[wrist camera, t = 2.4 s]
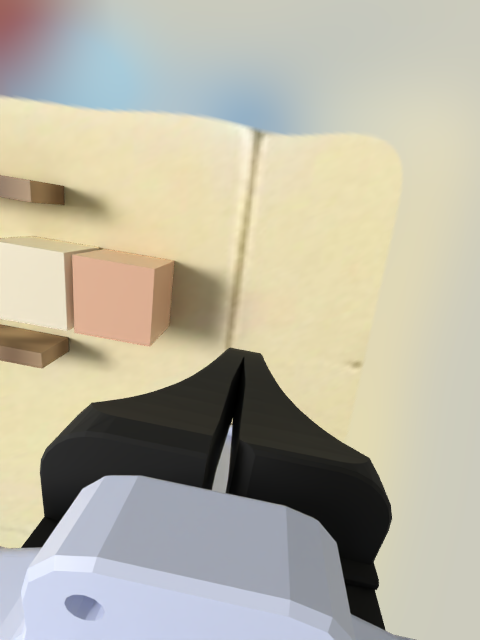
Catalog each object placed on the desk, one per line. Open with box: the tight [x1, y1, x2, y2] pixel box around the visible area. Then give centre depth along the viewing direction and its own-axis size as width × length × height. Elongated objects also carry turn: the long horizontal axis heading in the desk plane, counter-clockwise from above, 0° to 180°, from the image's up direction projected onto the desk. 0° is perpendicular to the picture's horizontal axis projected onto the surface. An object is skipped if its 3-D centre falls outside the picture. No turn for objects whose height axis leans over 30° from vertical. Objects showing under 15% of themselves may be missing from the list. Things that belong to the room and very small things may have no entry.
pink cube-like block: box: [72, 249, 174, 346], centre depth 20 cm, size 5×5×4 cm
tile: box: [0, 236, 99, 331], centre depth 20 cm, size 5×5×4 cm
